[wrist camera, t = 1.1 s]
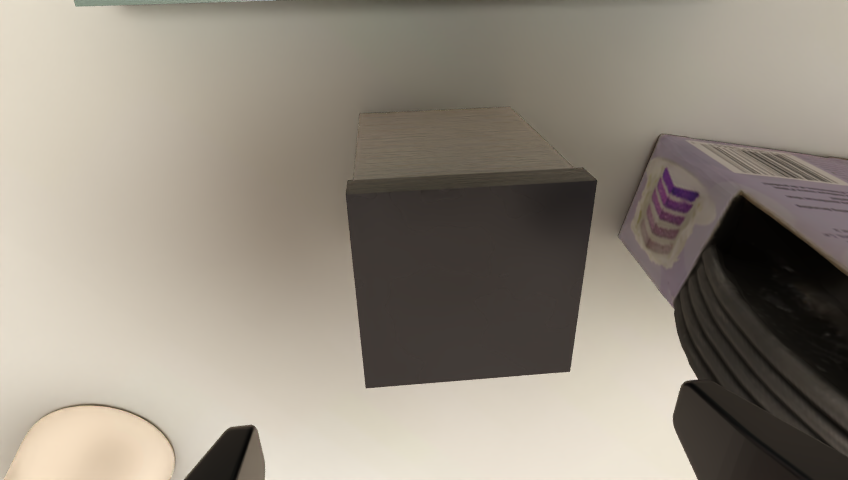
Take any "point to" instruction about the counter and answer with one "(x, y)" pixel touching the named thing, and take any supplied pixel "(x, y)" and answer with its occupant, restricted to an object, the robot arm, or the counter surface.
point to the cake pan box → (753, 272)
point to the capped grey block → (465, 246)
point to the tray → (146, 2)
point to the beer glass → (92, 447)
